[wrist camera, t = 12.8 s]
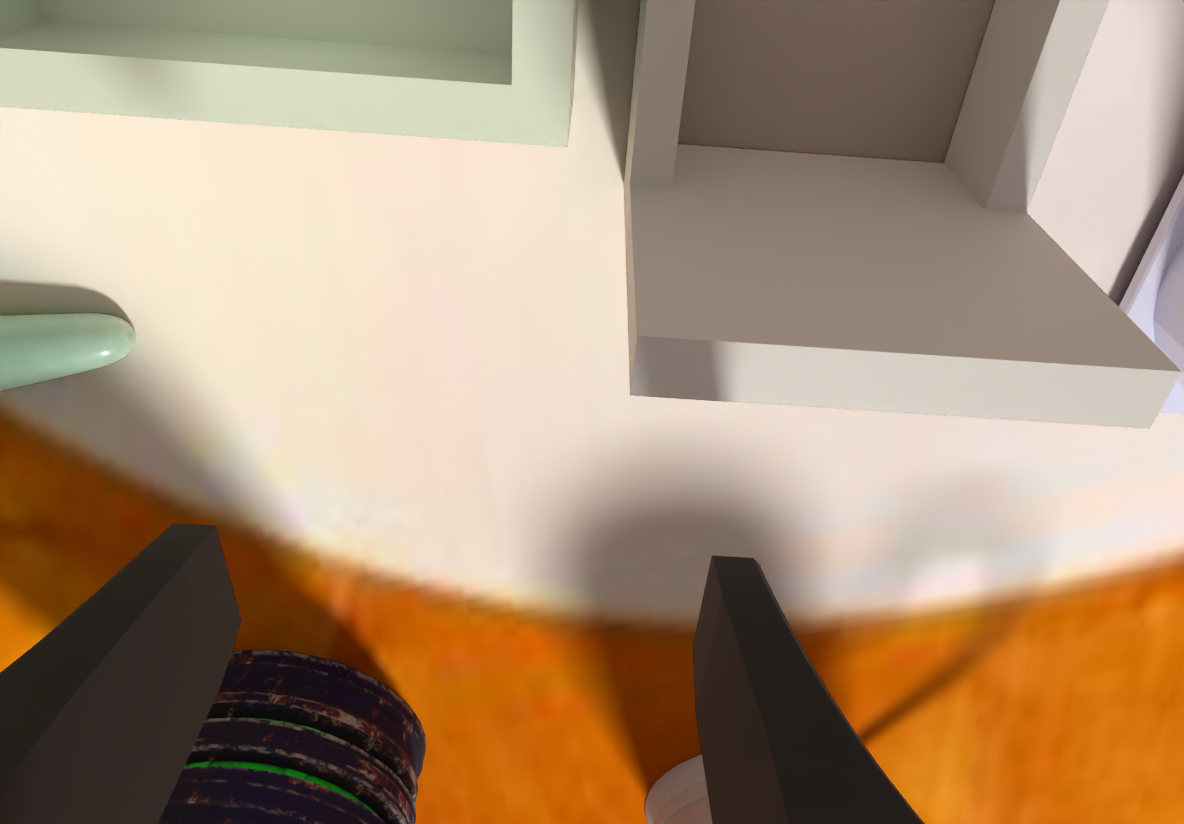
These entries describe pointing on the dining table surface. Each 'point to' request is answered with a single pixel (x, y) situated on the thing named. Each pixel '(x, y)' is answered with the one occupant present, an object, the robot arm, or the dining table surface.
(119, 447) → the dining table surface
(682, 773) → the glass holder
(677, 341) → the dock
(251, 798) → the storage jar
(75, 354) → the long green cone
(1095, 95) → the dining table surface
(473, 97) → the tray
